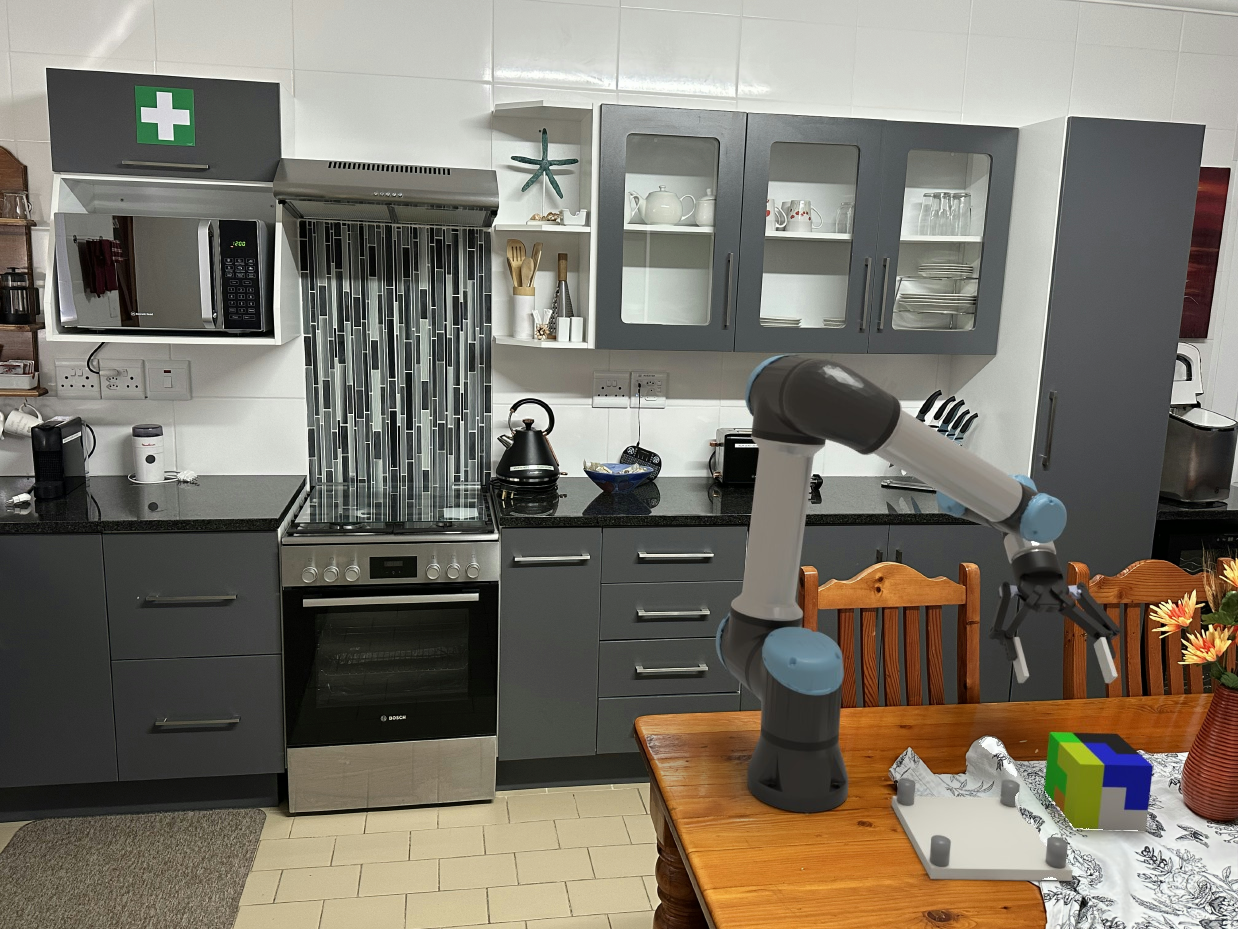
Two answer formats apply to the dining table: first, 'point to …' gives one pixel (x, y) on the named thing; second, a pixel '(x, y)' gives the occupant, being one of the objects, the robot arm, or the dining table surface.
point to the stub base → (978, 837)
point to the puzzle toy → (1098, 781)
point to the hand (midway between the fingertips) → (1067, 680)
